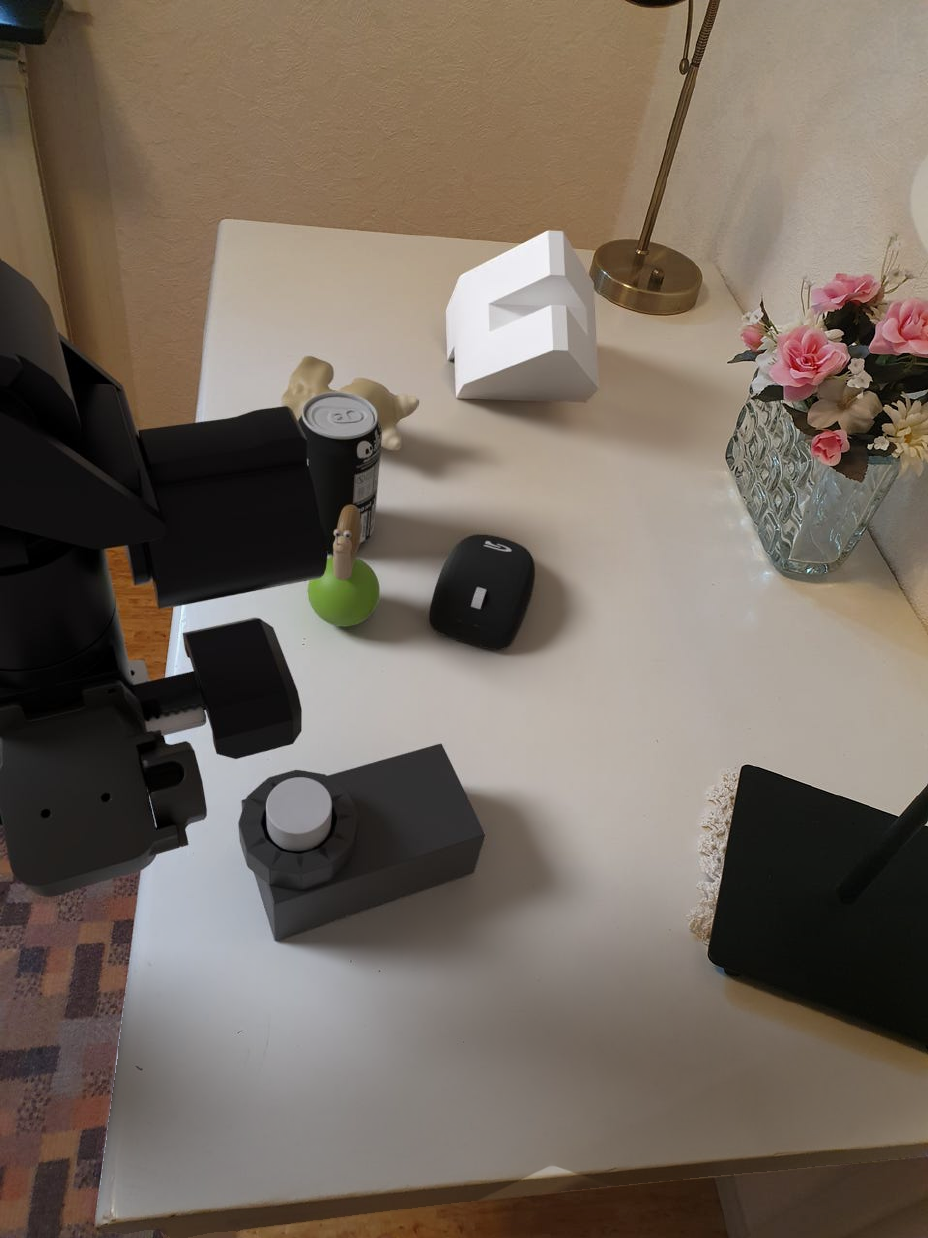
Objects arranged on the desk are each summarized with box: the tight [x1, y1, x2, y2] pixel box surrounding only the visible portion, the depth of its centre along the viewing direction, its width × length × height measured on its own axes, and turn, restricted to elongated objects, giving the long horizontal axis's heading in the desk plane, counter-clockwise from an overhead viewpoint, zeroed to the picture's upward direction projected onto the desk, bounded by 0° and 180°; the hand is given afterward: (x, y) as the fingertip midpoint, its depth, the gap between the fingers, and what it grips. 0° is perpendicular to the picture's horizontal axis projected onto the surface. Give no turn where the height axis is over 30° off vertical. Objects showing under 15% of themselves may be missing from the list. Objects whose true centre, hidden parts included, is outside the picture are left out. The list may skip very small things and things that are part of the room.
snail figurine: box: [307, 505, 381, 627], centre depth 68 cm, size 5×6×12 cm
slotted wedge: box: [445, 229, 600, 404], centre depth 92 cm, size 14×11×18 cm
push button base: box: [237, 743, 486, 942], centre depth 56 cm, size 14×7×7 cm, turn 114°
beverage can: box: [298, 392, 382, 553], centre depth 75 cm, size 7×7×12 cm
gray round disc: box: [266, 777, 332, 852], centre depth 52 cm, size 4×4×2 cm
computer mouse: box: [428, 533, 536, 650], centre depth 75 cm, size 8×12×4 cm, turn 164°
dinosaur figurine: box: [280, 355, 420, 451], centre depth 85 cm, size 8×7×12 cm
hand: (99, 827), depth 45 cm, fingers closed
